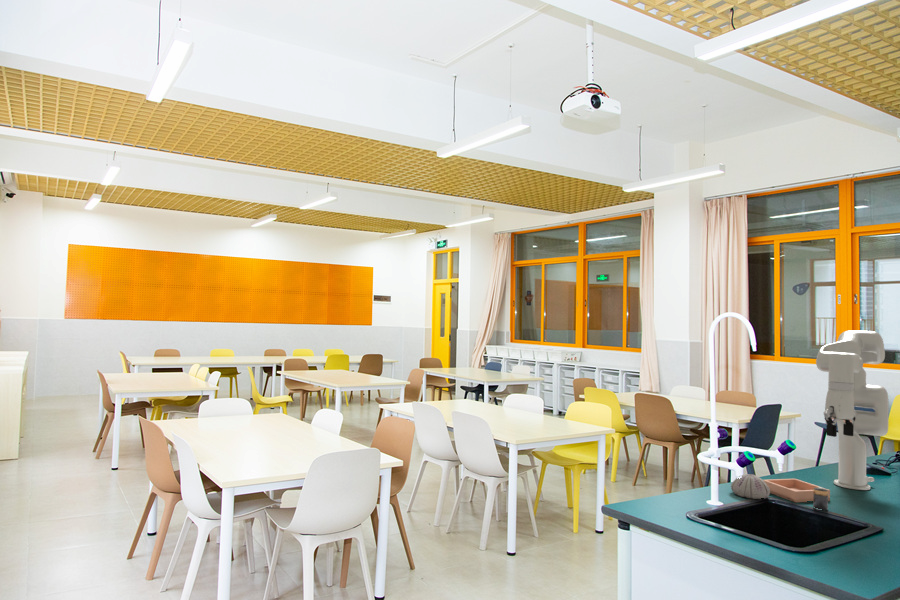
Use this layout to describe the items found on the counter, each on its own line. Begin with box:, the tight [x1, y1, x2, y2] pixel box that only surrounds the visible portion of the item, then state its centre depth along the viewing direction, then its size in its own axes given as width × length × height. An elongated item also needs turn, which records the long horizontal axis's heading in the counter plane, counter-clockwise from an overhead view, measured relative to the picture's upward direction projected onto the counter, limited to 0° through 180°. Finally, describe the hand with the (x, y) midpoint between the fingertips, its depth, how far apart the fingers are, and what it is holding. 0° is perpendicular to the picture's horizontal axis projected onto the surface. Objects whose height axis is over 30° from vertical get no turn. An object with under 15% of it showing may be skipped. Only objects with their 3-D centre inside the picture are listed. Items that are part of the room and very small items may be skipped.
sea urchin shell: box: [730, 473, 771, 500], centre depth 223 cm, size 13×14×8 cm
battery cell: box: [812, 486, 829, 510], centre depth 209 cm, size 4×4×8 cm
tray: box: [762, 478, 831, 503], centre depth 226 cm, size 16×16×4 cm
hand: (839, 435), depth 208 cm, fingers open, 9 cm apart
